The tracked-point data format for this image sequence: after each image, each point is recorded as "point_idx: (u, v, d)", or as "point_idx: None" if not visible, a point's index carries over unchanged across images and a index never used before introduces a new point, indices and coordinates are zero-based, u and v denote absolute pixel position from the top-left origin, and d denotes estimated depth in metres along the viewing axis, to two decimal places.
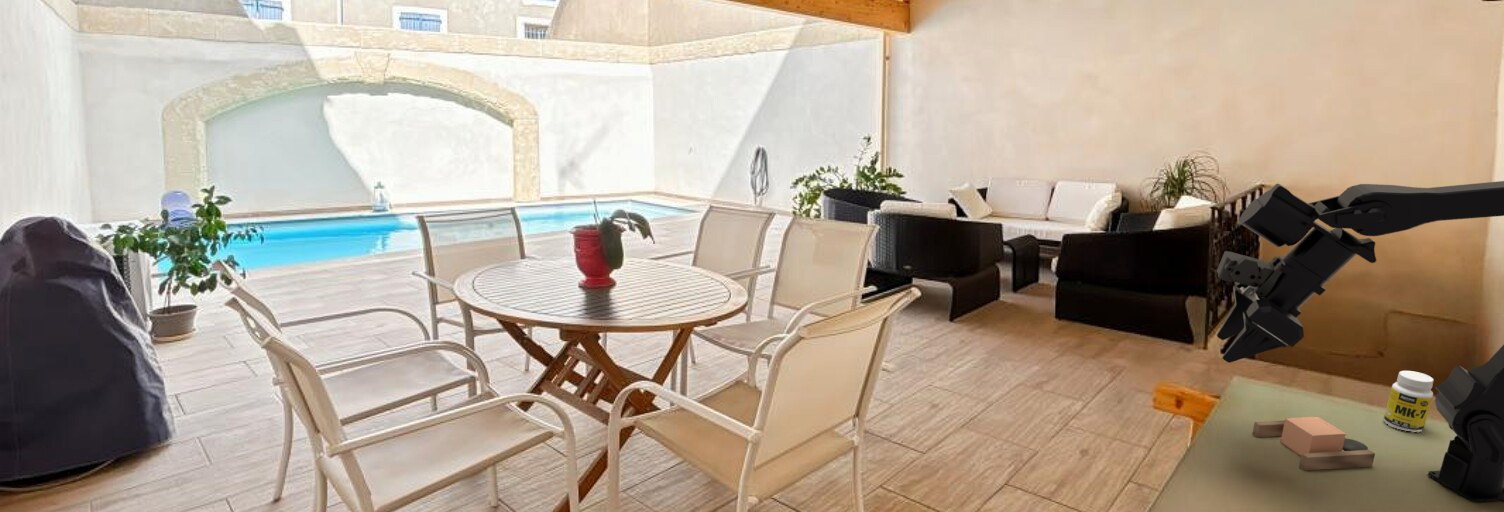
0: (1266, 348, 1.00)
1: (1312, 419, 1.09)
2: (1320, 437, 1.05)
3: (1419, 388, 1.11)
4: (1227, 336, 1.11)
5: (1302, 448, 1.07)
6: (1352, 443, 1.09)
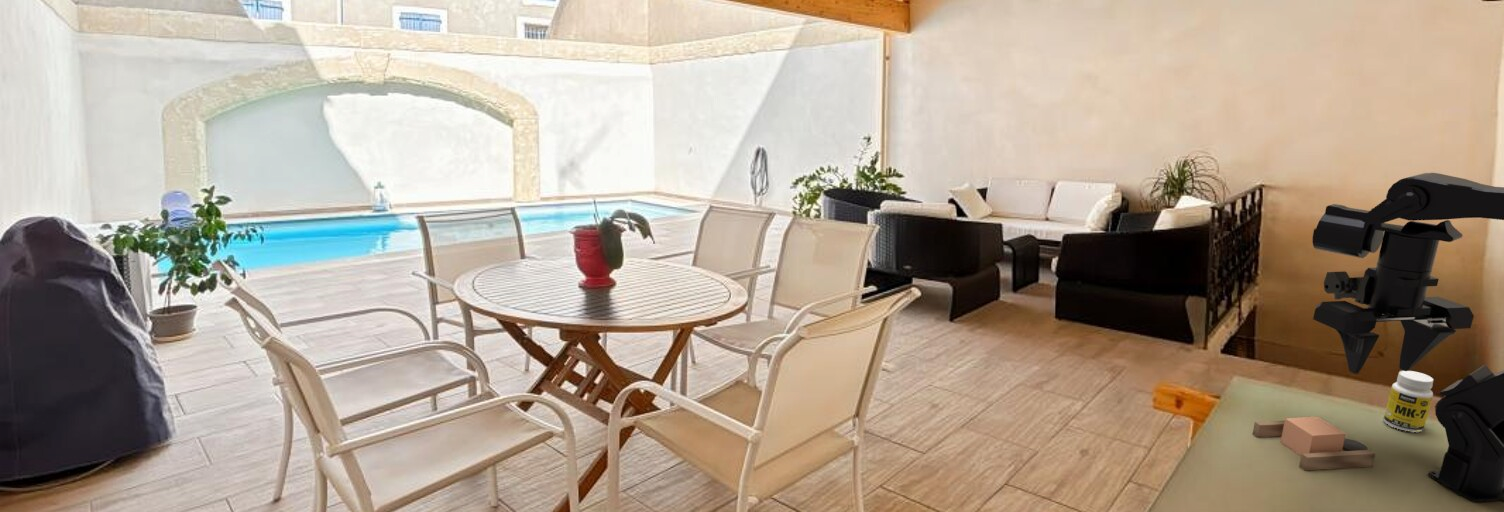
0: (1361, 347, 1.02)
1: (1311, 419, 1.09)
2: (1320, 437, 1.05)
3: (1419, 388, 1.11)
4: (1407, 365, 1.05)
5: (1302, 448, 1.07)
6: (1352, 443, 1.09)
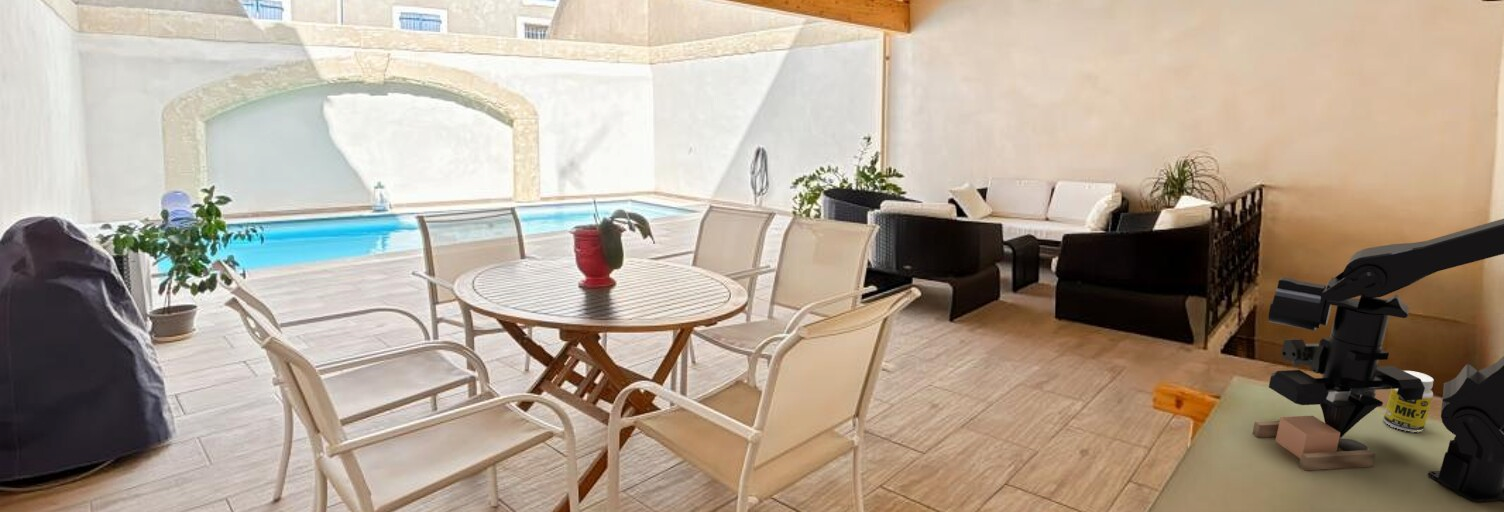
0: (1339, 415, 1.05)
1: (1307, 418, 1.09)
2: (1314, 436, 1.05)
3: None
4: None
5: (1297, 447, 1.07)
6: (1352, 443, 1.09)
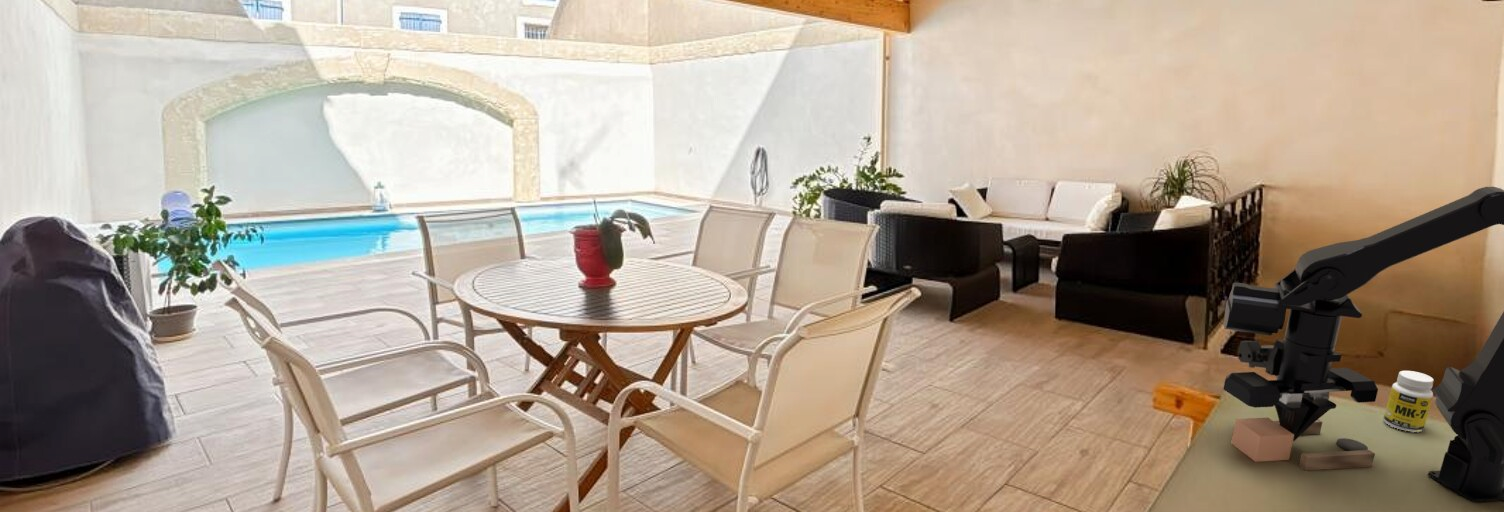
0: (1292, 417, 1.05)
1: (1262, 420, 1.09)
2: (1268, 438, 1.05)
3: (1419, 388, 1.11)
4: None
5: (1251, 449, 1.06)
6: (1352, 443, 1.09)
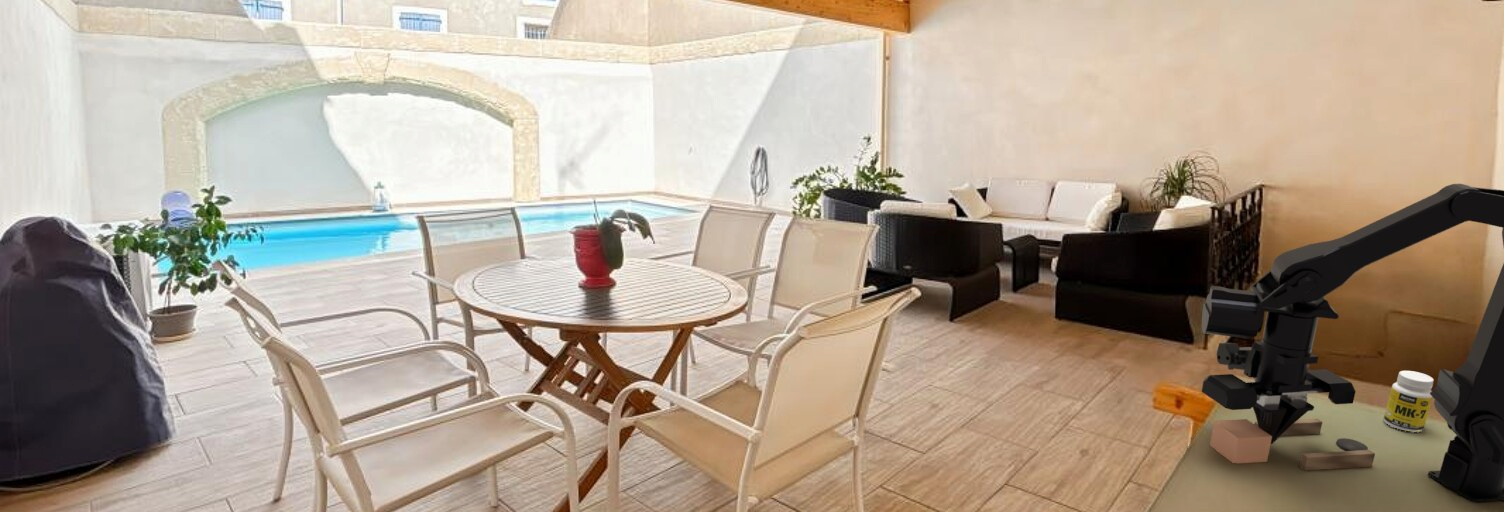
0: (1270, 419, 1.04)
1: (1240, 422, 1.09)
2: (1246, 440, 1.04)
3: (1419, 388, 1.11)
4: None
5: (1229, 451, 1.06)
6: (1352, 443, 1.09)
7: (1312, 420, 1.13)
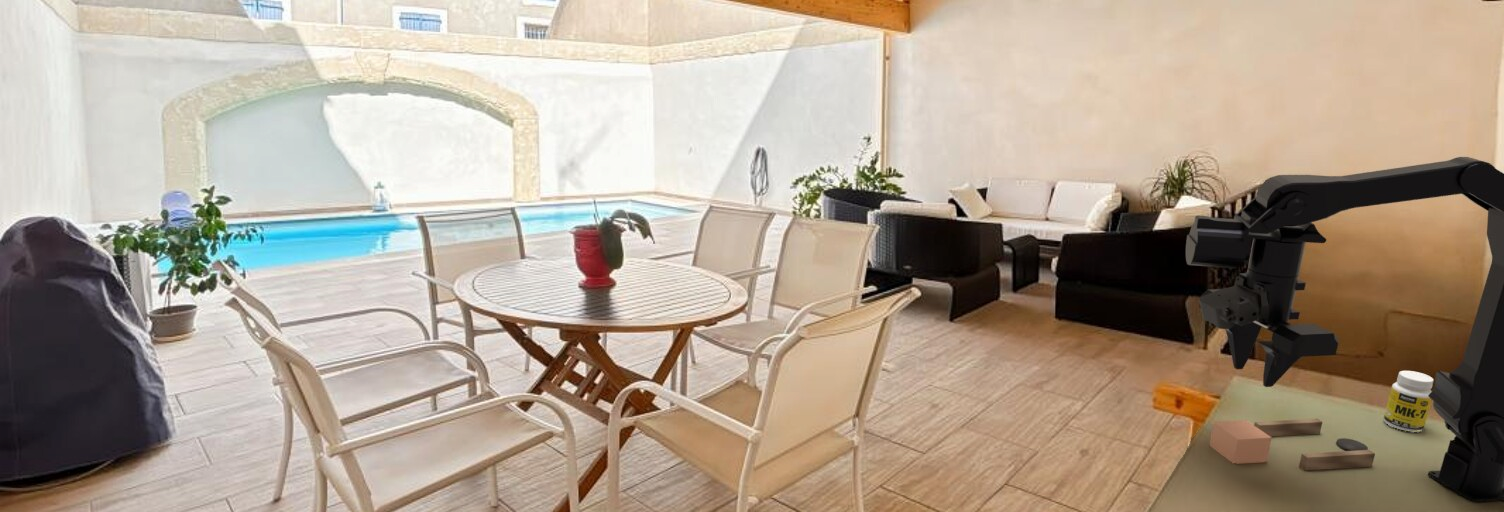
0: (1297, 358, 0.99)
1: (1240, 423, 1.09)
2: (1245, 441, 1.04)
3: (1419, 388, 1.11)
4: (1244, 363, 1.07)
5: (1229, 452, 1.06)
6: (1352, 443, 1.09)
7: (1312, 420, 1.13)
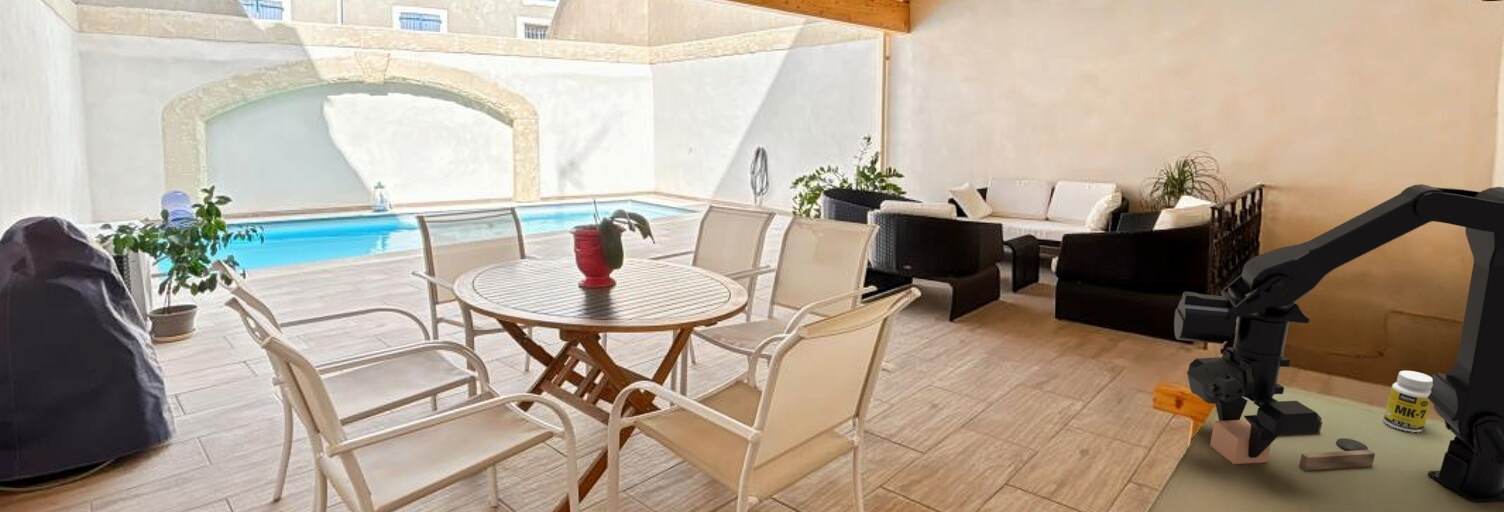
0: None
1: (1241, 422, 1.09)
2: (1246, 440, 1.04)
3: (1419, 388, 1.11)
4: None
5: (1229, 451, 1.06)
6: (1352, 443, 1.09)
7: None
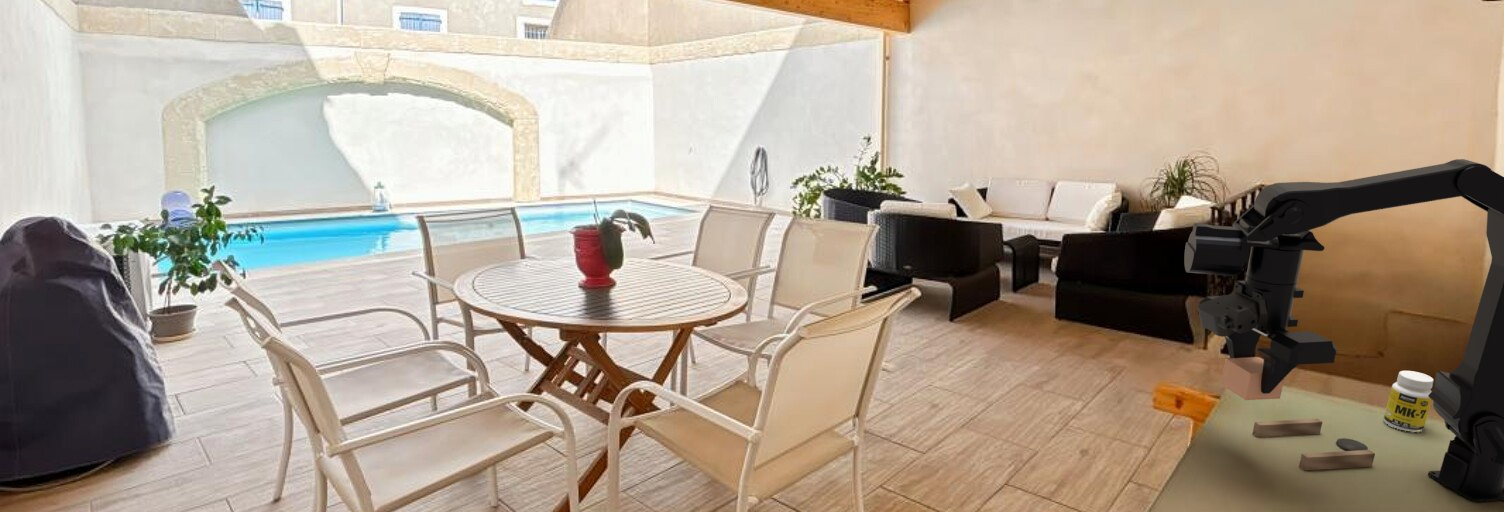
0: (1294, 365, 0.99)
1: (1252, 359, 1.06)
2: (1259, 375, 1.02)
3: (1419, 388, 1.11)
4: None
5: (1241, 387, 1.03)
6: (1352, 443, 1.09)
7: (1312, 420, 1.13)
